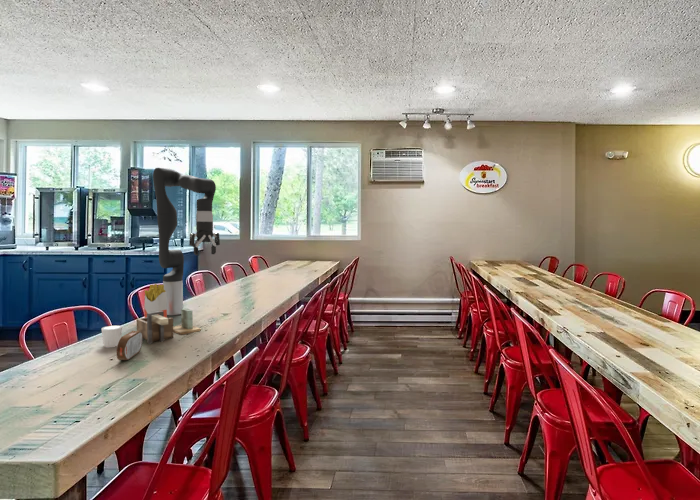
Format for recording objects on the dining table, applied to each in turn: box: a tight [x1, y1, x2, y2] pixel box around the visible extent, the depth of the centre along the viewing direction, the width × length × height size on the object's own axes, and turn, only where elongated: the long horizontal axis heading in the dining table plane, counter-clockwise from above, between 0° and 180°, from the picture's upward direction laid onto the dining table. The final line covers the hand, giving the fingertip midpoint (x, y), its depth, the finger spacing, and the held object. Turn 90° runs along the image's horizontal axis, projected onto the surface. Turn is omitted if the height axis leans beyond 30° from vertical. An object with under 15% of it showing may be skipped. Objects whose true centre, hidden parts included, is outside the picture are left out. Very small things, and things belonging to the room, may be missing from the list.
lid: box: [173, 308, 202, 336], centre depth 176 cm, size 12×9×9 cm
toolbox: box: [136, 311, 174, 345], centre depth 164 cm, size 16×10×12 cm, turn 48°
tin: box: [116, 330, 144, 361], centre depth 141 cm, size 15×3×8 cm, turn 5°
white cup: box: [101, 324, 123, 348], centre depth 153 cm, size 7×7×7 cm
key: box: [152, 314, 169, 325], centre depth 155 cm, size 10×2×2 cm, turn 48°
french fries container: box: [143, 283, 168, 318], centre depth 188 cm, size 5×11×18 cm, turn 60°
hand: (205, 254), depth 191 cm, fingers open, 8 cm apart
